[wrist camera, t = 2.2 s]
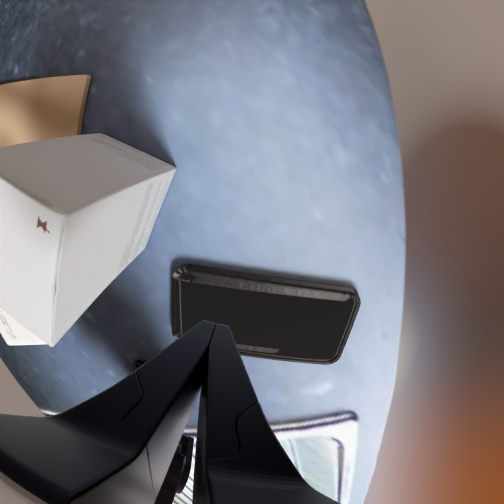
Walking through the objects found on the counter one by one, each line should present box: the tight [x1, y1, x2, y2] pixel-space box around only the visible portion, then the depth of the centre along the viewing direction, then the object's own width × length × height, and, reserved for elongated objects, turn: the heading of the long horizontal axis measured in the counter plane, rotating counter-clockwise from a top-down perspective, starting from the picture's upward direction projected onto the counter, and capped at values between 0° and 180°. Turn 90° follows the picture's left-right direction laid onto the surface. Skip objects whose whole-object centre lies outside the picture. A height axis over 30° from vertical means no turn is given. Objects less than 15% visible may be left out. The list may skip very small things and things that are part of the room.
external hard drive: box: [0, 308, 47, 345], centre depth 27 cm, size 2×8×12 cm
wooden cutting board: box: [0, 75, 91, 148], centre depth 20 cm, size 18×17×1 cm
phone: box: [172, 264, 361, 365], centre depth 24 cm, size 8×1×15 cm
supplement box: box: [0, 133, 176, 347], centre depth 15 cm, size 7×7×13 cm
